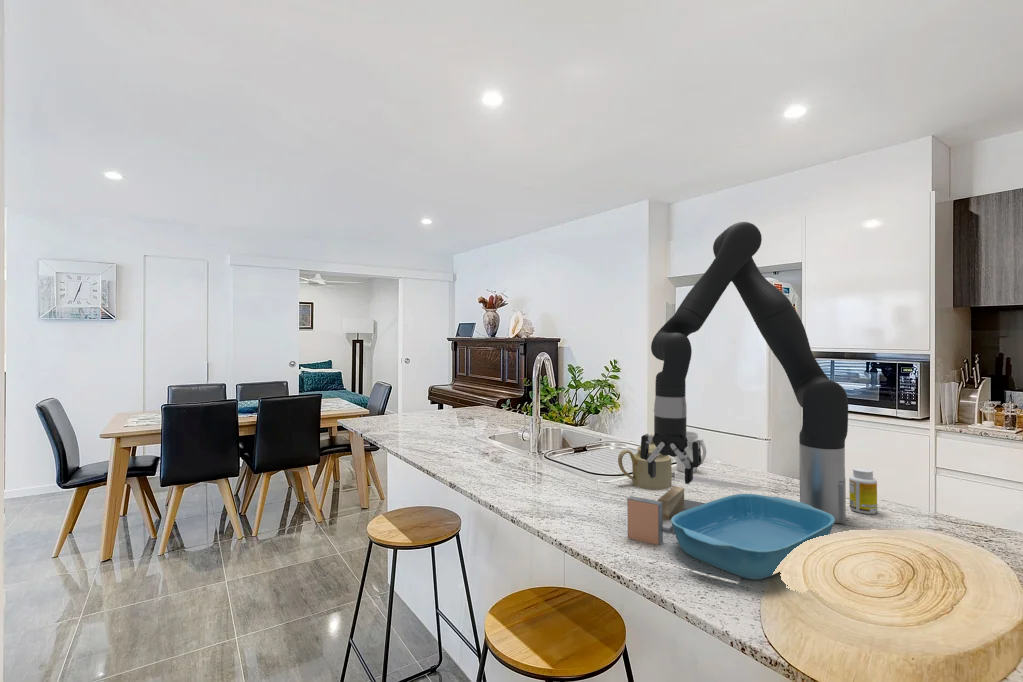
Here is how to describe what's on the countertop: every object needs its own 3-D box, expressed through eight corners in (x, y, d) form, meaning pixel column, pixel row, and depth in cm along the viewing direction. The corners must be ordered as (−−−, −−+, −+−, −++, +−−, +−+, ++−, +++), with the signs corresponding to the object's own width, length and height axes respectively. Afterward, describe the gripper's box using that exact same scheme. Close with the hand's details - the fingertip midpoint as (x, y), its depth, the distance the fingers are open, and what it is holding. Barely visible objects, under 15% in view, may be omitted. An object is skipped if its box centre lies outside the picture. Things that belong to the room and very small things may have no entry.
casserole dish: (747, 514, 121) (747, 485, 121) (851, 545, 103) (851, 511, 103) (650, 555, 100) (650, 520, 99) (760, 603, 81) (759, 561, 81)
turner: (691, 508, 123) (691, 488, 123) (669, 531, 109) (669, 509, 109) (667, 504, 127) (667, 484, 127) (643, 525, 113) (643, 503, 113)
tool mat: (710, 506, 126) (710, 504, 126) (681, 538, 107) (681, 536, 107) (663, 497, 133) (663, 495, 133) (629, 526, 114) (629, 524, 114)
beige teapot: (647, 496, 134) (646, 442, 134) (616, 487, 143) (615, 435, 143) (679, 486, 143) (679, 434, 143) (648, 477, 152) (647, 429, 152)
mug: (671, 469, 160) (671, 433, 160) (683, 466, 164) (683, 430, 164) (700, 476, 152) (700, 437, 152) (711, 472, 156) (711, 434, 156)
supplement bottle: (882, 512, 120) (882, 470, 120) (868, 516, 118) (868, 473, 118) (858, 505, 125) (857, 465, 125) (844, 509, 123) (844, 468, 123)
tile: (662, 544, 104) (662, 501, 104) (659, 547, 103) (658, 504, 102) (631, 536, 108) (630, 495, 108) (627, 539, 107) (627, 498, 106)
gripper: (704, 415, 119) (704, 481, 119) (647, 409, 127) (647, 471, 128) (695, 419, 113) (695, 489, 113) (636, 413, 121) (636, 478, 122)
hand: (669, 480), depth 120 cm, fingers open, 8 cm apart
